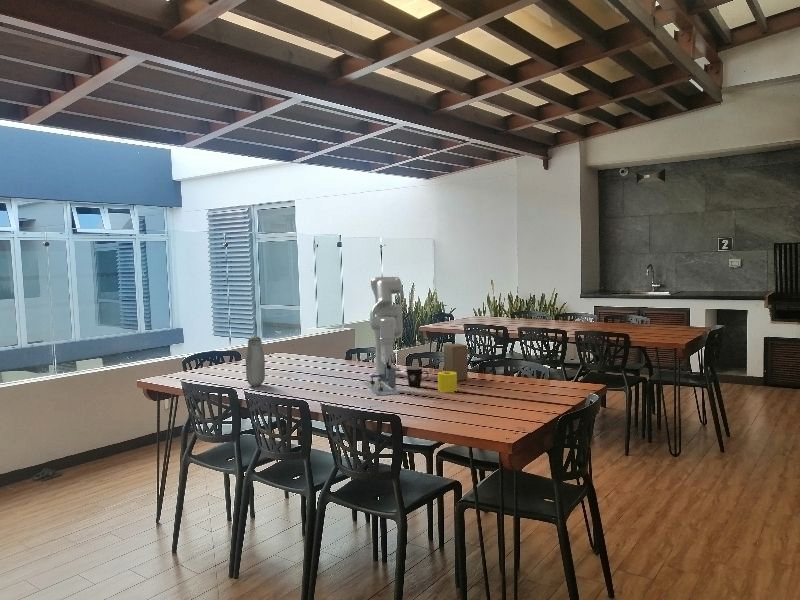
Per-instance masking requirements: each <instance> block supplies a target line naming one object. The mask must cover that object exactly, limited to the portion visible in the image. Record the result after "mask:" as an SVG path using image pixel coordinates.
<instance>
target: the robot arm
mask: <svg viewBox="0 0 800 600" xmlns="http://www.w3.org/2000/svg"><path fill="white" fill-rule="evenodd" d="M402 285H403V284H402V281H401V278H400V277H399V276H377V277H373V278H371V279H370V287H371V290H372V292H373V295H374V298H375V304H374V305H373V306H372V308H371V310H370V311H369V312H370V313H369V319H370V320H369V323H370V329H371V330H372V331H373V335H374V341H375V342H374V343H375V371H374V372H373V375H378V374H385V375H386V368H391V367H393V366H392V364H393V363H394V361H395V360H394V357H395V356H394V354H395V353H394V345H395V339H398V338H401V337H403V332H404V331H403V329H404V327H403V309H402V307H401V305H400V304H397V303H396V304H395V303H394V304H393V295H396V294H401V292H402V290H403V286H402ZM393 368H395V371H396V372H398V371H399V372H400V367H393Z"/></svg>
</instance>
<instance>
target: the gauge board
mask: <svg viewBox="0 0 800 600" xmlns="http://www.w3.org/2000/svg"><path fill="white" fill-rule="evenodd" d="M369 377H370V381H363V385H364V386H365V387H366V386H367V387H368V388H367V387H366V388H367V389H368V390H370V391H371V392H372V393H373V394H374V395H375V394H376V395H375V396H377V397H378V396H387V395H388V396H389V394H390V395H400V390H399V389H397V388H396V386H387V385H386V381H381V387H379V381H378V379H386V375H385V374H378V375H374V374H373V375H372V374H370V375H369ZM374 378H377V380H374Z"/></svg>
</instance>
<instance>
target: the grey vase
mask: <svg viewBox="0 0 800 600" xmlns="http://www.w3.org/2000/svg"><path fill="white" fill-rule="evenodd" d="M262 343H263V342H262V339H261V337H260V336H257V335H254V336H253V335H252V336H250V337H249V339H247V349H246V354H245V372H246V373H245V374H246V376H245V377H246V381H247V383H248V384H249V386H252V387H258V386H261V385H262V384H263V383H264V381H265V378H266V371H265V370H266V368H265V367H266V366H265V365H266V361H265V358H266V357H265V354H264V350H263V344H262Z"/></svg>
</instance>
